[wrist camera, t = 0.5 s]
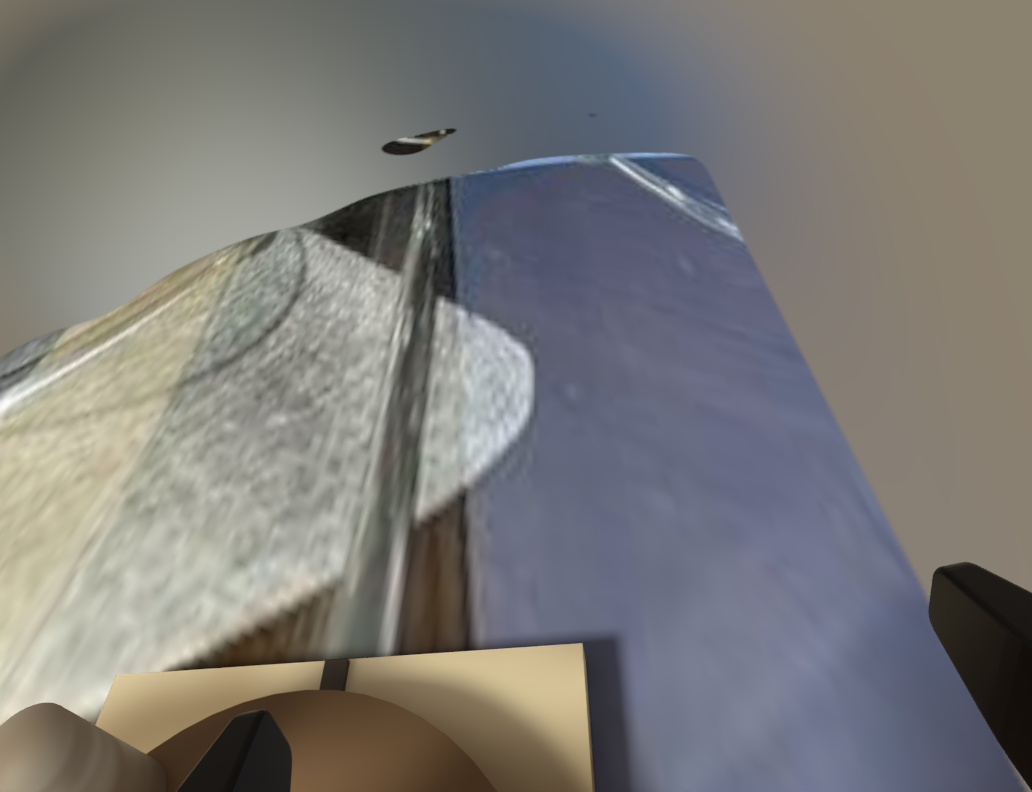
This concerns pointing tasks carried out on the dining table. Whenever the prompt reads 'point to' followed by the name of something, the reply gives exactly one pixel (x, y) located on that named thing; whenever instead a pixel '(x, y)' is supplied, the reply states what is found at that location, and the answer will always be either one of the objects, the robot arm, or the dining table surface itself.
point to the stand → (404, 705)
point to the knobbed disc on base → (158, 774)
